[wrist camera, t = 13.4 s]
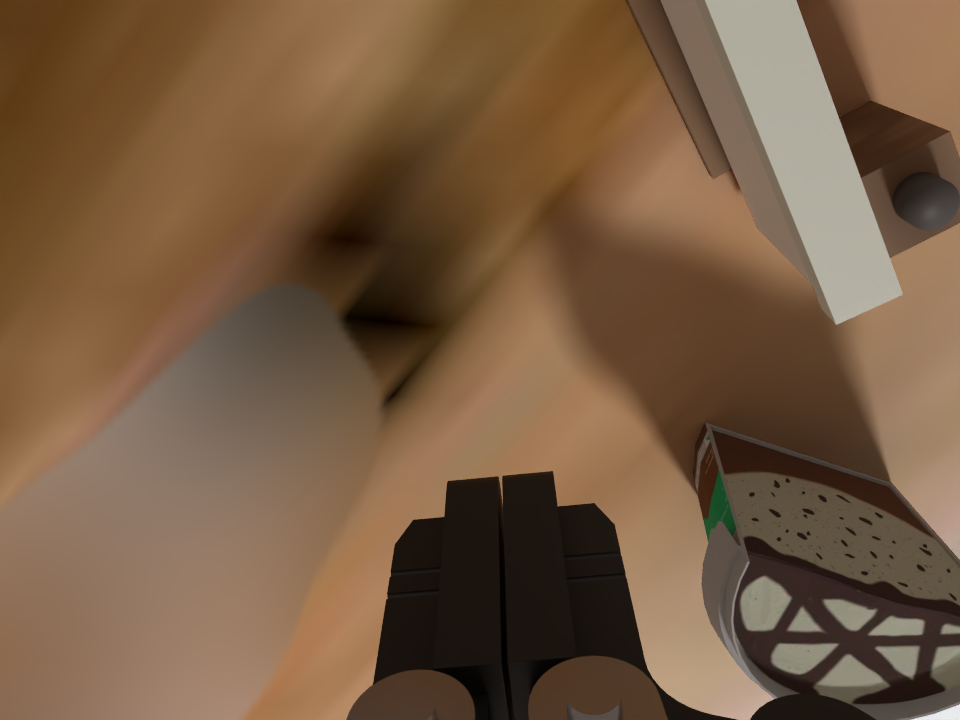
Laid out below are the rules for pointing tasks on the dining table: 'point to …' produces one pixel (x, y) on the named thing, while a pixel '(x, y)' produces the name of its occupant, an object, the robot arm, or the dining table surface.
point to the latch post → (905, 173)
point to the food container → (826, 580)
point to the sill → (680, 82)
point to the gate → (787, 145)
